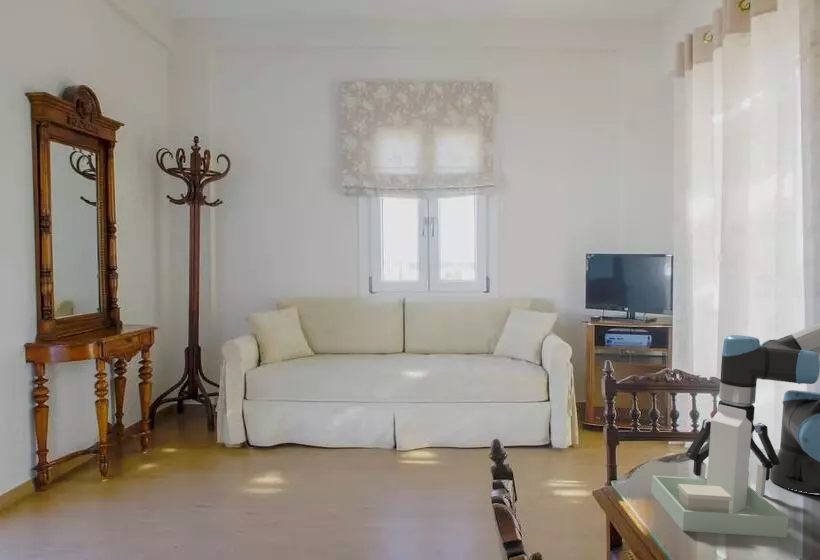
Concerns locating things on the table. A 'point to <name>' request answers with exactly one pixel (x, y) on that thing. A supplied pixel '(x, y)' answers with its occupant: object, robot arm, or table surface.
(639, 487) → the table surface
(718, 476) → the milk
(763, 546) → the table surface
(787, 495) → the table surface
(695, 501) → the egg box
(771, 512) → the tray
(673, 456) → the table surface
